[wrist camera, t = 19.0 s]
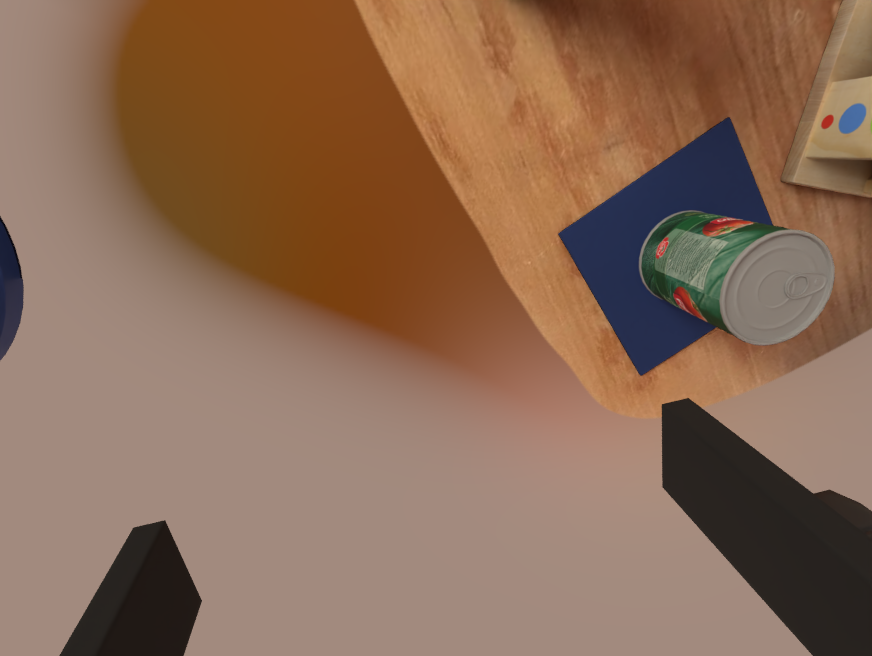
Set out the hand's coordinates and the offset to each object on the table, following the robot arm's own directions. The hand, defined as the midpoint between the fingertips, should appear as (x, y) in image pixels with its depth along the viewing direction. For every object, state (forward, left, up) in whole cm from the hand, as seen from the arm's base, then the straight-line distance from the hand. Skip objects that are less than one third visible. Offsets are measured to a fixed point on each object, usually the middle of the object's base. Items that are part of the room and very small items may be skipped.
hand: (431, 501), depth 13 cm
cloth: (+22, +11, -30) cm, 39 cm away
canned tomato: (+22, +11, -30) cm, 39 cm away
